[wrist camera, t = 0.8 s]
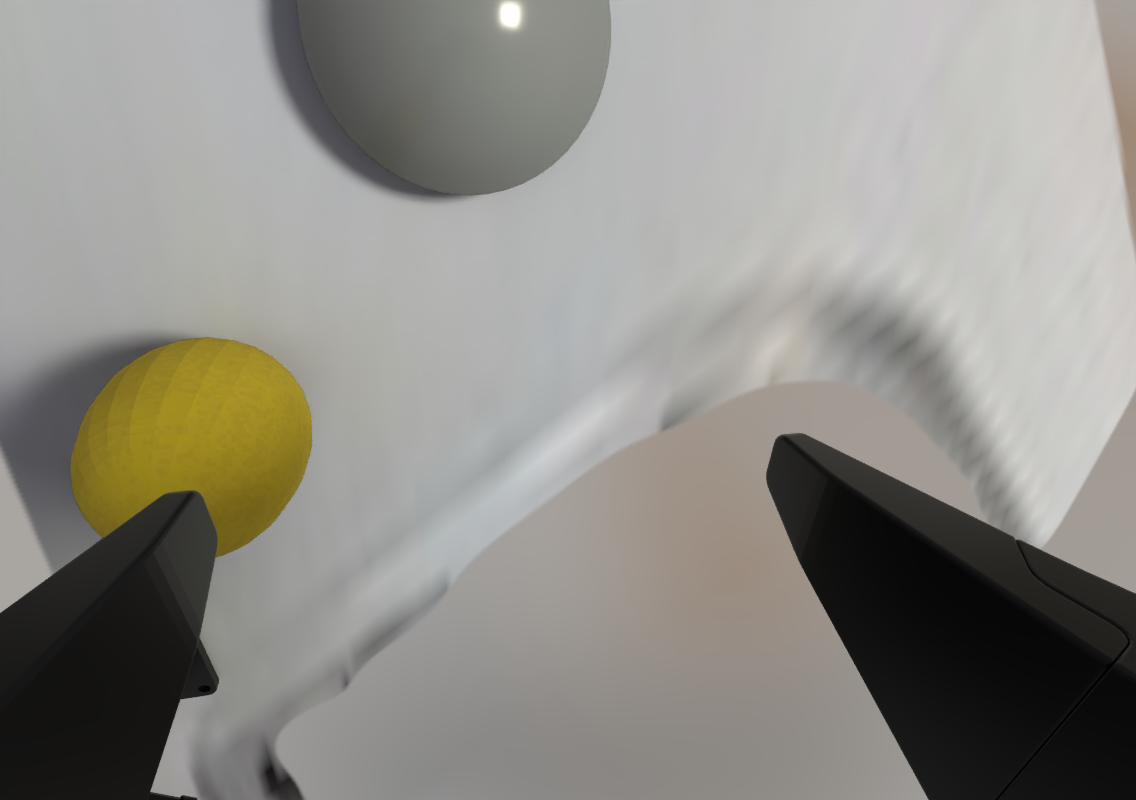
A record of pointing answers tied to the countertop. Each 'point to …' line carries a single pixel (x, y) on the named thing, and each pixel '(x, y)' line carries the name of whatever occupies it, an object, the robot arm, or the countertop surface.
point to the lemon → (195, 438)
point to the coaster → (459, 83)
